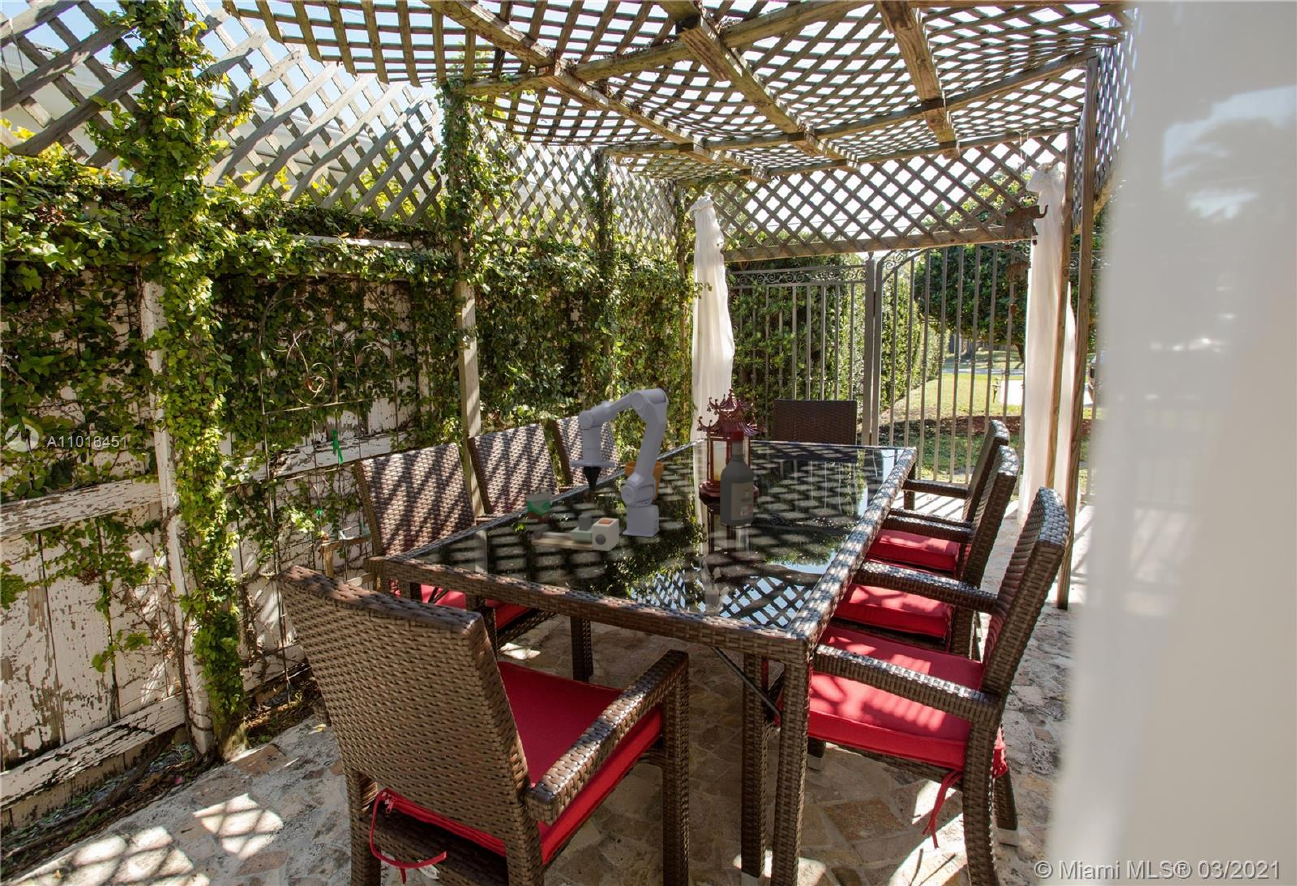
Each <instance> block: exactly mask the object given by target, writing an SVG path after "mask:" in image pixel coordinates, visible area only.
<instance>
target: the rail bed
mask: <svg viewBox="0 0 1297 886" xmlns="http://www.w3.org/2000/svg"><path fill="white" fill-rule="evenodd" d="M548 526H549V525H548V524H547V523H541V524H539V526H537V527H536V528H534V529H533V540H531V541H530V544H532V545H531V546H537V545H539V546H540V547H547V548H549V547H550V548H558V549H559V548H560V549H569V548H571V550H582V551H593V543H592V542H588V541H577V540H573V539H572V538H571V533H565V532H554V531H549V530H548V529H549V528H548ZM539 546H538V547H539Z"/></svg>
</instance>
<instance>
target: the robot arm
mask: <svg viewBox="0 0 1297 886" xmlns="http://www.w3.org/2000/svg"><path fill="white" fill-rule="evenodd" d="M669 401H670V400H669V397H667V394H666V392H665V390H663V389H662V388H660V387H655V388H651V389H636V390H635V391H631V392H629V393H628V394H626V395H624V396H622V397H620V398H619V399H617V400H615V401H614V402H612V401H610V400H603V401H601V402H600V404H599V405H597V406H592V407H591V409H590V410H582V411H581V412H580V413H579V415H578V418H577V420H578V425H579V427H580V428H581V429H582V432H581V433H582V459H579V460H577V459H576V460H575V459H573V460H572V459H571V460H569V461H568V462H569V468H582V473H583V475H584V476H585V478H586V481H587V484H588V487H589V491H596V489H597V488H596V487H597V483H598V479H599V476H600V474H601V471H602V469H610V470H611V469H615V468H616V461H612V460H611V461H609V460H602V445H601V444H602V443H601V442H602V440H601V435H602V434H601V433H602V432H603V431H602V430H603V426H604V424H606V423H608V422H611V421H613V420H614V419H617V416H618V413H620V412H623V411H626V410H627V409H629V408H630V409H633V411H635V413H636V415H638V417H640V419H641V420H642V421H643V422H645V424H646V426H645V431H644V434H643V437H642V441H641V445H640V447H639V448H640V449H639V452H638V456H637V460H636V461H637V463H636V466H635V470H634V473H633V474H632V475H631V476H630V477H629V478H628V477H627V479H626V480H625V481H626V482H625V484H624V485H623V486H622V487H621V491H620V496H621V500H622V501H623V503H624V504H625V505H624V506H626V530H623V532H622V535H623V536H633V537H634V536H635V537H647V538H648V537H649V538H653V537H654V536H655V535H656V534H657V533H658V532H659V531H660V528H659V525H660V522H659V521H660V516H659V515H660V512H659V507H658V505H655V504H652V503H653V500H652V499H653V498H654V496H655V493H656V489H655V484H656V480H655V479H654V477H653V476H652V474H653V471H654V467H655V464H656V461H657V460H658V455H659V452H660V449H661V445H662V441H663V438H664V435H665V431H666V428H667V424H668V420H667V419H668V417H667V408H668V404H669Z"/></svg>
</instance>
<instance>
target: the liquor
mask: <svg viewBox="0 0 1297 886" xmlns="http://www.w3.org/2000/svg"><path fill="white" fill-rule="evenodd" d="M744 431H745V430H744V429H732V430H731V441H732V444H731V459H730V461H729V462H728V463H727V464H726V465H725V467H724V468H723V469H722V471H721V473H720V484H719V485H720V492H719V493H720V495H719V496H720V499H719V502H720V503H719V505H720V506H719V523H720V524H721V523H724V524H727V525H730V526H741V525H744V524H747V523H752V522H753V523H754V492H755V491H754V490H755V489H754V484H755V475H754V474H755V473H754V472H753V470H752V468H751V467H750V466H749V465H748V464H747V463H746V461H745V458H744V440H745V439H744V436H745V435H744V434H745V433H744Z"/></svg>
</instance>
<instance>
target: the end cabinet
mask: <svg viewBox="0 0 1297 886" xmlns="http://www.w3.org/2000/svg"><path fill="white" fill-rule="evenodd" d="M602 519H607V520H612V523H611V524H599V521H601V520H602ZM619 522H620V519H619V518H611V517H601V518H600V519H599V520H598V521H596V522H594V523H593V524H591V525H592V543H593V550H595V551H605V552H610V551H612V550H613V549H614V548H615V547H616V546H617V545H618V544H619V543H620V531H619V530H620V525H619V524H620V523H619ZM616 544H617V545H616ZM593 550H592V551H593Z"/></svg>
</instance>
